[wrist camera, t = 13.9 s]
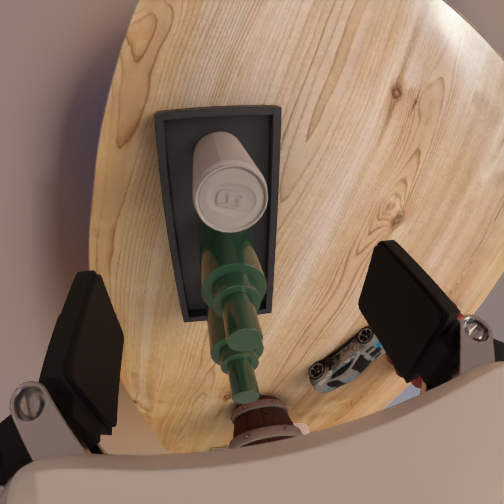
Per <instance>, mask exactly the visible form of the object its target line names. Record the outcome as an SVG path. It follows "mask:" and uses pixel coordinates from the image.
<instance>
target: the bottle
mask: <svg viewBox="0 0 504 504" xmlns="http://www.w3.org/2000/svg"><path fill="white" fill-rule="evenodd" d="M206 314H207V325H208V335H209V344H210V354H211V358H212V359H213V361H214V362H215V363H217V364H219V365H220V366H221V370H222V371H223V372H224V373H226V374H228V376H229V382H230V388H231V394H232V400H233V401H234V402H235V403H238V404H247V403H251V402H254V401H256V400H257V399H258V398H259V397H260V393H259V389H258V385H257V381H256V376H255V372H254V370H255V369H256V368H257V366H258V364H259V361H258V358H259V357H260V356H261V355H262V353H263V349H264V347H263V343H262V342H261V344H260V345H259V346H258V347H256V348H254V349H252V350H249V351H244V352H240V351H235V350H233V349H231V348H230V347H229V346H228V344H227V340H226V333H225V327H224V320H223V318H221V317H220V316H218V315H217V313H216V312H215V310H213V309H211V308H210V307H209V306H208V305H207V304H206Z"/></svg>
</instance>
